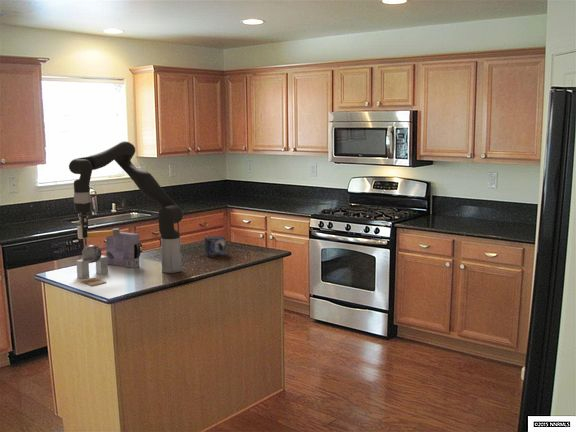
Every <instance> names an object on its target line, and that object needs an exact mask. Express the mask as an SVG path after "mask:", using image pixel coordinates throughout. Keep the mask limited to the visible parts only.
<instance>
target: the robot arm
mask: <svg viewBox="0 0 576 432" xmlns="http://www.w3.org/2000/svg"><path fill="white" fill-rule="evenodd" d="M135 153H136V147H135V145H134V144H133V143H131V142H130V141H126V140H125V141H121V142H119V143H117V144H116V145H114V146H112V147H110V148H107V149H106V150H102V151H101V152H97V153H94V154H93V155H89V156H83V157H77V158H74V159H72V160H70V162H69V164H68V169H69V171H70V172H71V173H72V174H75V175H79V178H78V179H75V180H74V181H73V202H74V203H73V204H74V205H73V208H74V211H75V213H78V221H79V226H82V235H83V238H86V239H88V238H87V237H88V234H87V230H89V215H88V214H87V213H88V212H91V211H92V195H91V191H90V190H91V189H90V187H91V186H90V181H91V177H92V174H93V171H95V170H98V169H100V168H101V169H102V168H104V167H106V166H107V165H109V164H110V163H112V162H114V161H115V163H116V164H117V165H118V166H119V167H120V168H121V169H122V170H123V171H124V172H125V173H126V174H127V176H129V177H130V179H131V180H132V182H134V184H135V185H136V187H137V188H138V189H139V190H140V192H141V193H142V194H143V195H144V196H145V197H146V198H148V199H150V200H151V201H153V202H155V203H157V204H158V205H159V206H160V207H161V208H159V210H158V215H157V219H158V230H159V234H160V238H161V239H160V242H161V245H160V246H161V269H162V270H161V272H163V273H166V274H168V273H169V274H175V273H180V272H182V271H183V263H182V262H183V261H182V256H183V255H182V252H181V235H180V234H181V233H180V231H178V230H176V229H175V224H177V223H180V222H181V221H182V220H183V217H184V215H183V211H182V209H181V208H180V206H179V205H178V204H177V203H176V202H175V200H173V199H172V198H171V197H170V196H169V195H168V194H167V193H166V191H165V190H164V189H163V188H162V186H161V185H160V184H159V182H158V180H156V179H155V177H154V176H153V175H152V174H151V173H150V172H149V171H147V170H143V169H140V168H138V167H136V166H135V165H134V164H133V162H132V161H131V160H132V158H133V157H134V155H135ZM84 225H86V227H84Z"/></svg>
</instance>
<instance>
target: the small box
mask: <svg viewBox="0 0 576 432" xmlns="http://www.w3.org/2000/svg"><path fill="white" fill-rule="evenodd" d="M204 256H205V257H207V258H213V257H226V237H225V236H223V235H216V236H215V235H214V236H213V235H212V236H204Z"/></svg>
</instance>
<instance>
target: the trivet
mask: <svg viewBox="0 0 576 432" xmlns="http://www.w3.org/2000/svg"><path fill="white" fill-rule="evenodd" d="M80 282H81V283H83V284H85V285H89V286H92V287H95V286H99V285H103V284H104V285H105V284H107V281H105V280H101V279H100V278H97V277H93V278H92V277H91V278H86V279H82V280H81V281H80Z"/></svg>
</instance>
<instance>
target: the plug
mask: <svg viewBox="0 0 576 432" xmlns="http://www.w3.org/2000/svg"><path fill="white" fill-rule="evenodd" d="M84 227H86V225H84ZM88 230H89V229H88ZM88 230H87V234H88V237H87V238H83V235H82V226H80V225H77V238H78V240H81V239H90V238H92V239H93V238H101V237H105V238H106V236H118V235H120V232H121V231H120V228H112V229H110V230H109V229H108V230H107V229H106V230H97V231H96V230H95V231H88Z"/></svg>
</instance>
